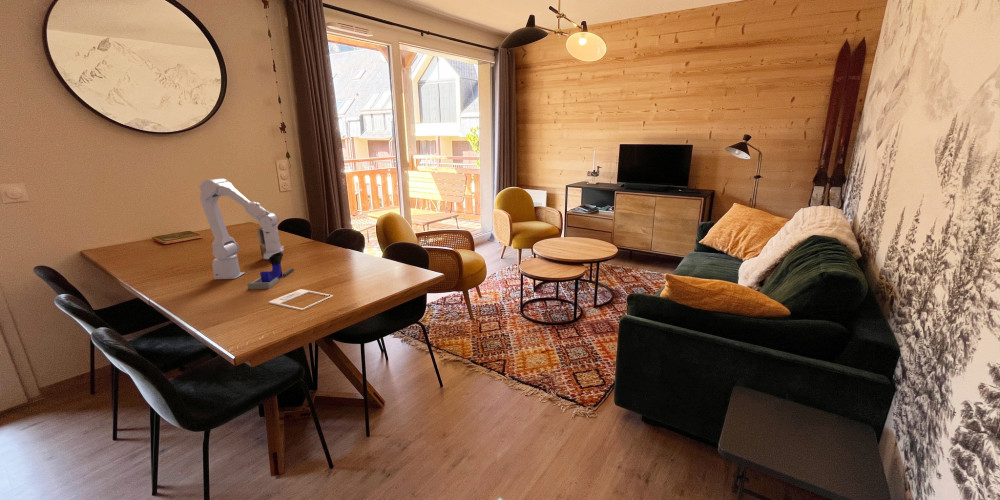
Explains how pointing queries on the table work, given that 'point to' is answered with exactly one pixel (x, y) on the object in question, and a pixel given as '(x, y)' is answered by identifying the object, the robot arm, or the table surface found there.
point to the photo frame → (294, 295)
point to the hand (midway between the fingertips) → (277, 269)
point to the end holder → (262, 284)
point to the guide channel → (288, 272)
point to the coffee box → (262, 242)
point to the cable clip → (272, 273)
